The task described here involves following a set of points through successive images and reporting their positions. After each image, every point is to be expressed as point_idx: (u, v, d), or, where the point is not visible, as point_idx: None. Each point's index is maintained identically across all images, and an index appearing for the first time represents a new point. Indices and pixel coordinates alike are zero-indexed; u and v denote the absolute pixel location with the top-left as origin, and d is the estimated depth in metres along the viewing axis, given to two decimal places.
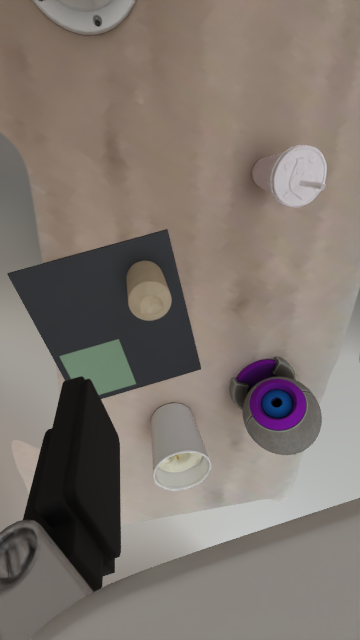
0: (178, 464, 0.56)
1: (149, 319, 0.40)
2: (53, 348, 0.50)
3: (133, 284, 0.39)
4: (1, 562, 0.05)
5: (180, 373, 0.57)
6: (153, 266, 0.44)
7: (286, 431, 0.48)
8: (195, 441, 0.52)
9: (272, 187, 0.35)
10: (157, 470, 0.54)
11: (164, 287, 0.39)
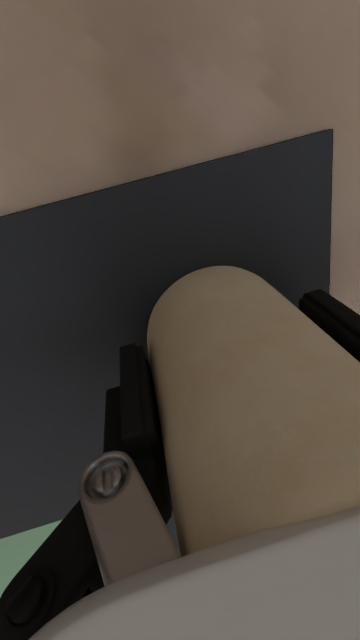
0: None
1: None
2: None
3: (225, 453, 0.05)
4: (98, 482, 0.06)
5: None
6: (275, 293, 0.10)
7: None
8: None
9: None
10: None
11: None
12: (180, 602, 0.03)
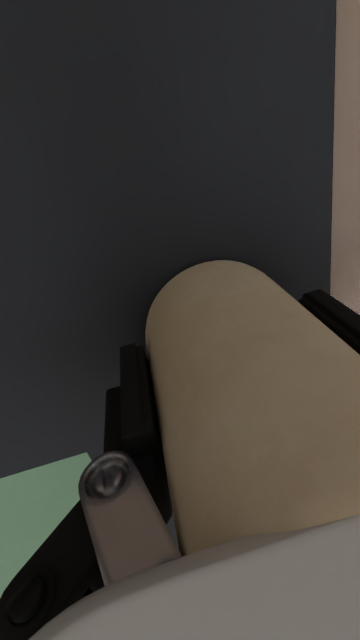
0: None
1: None
2: None
3: (228, 459, 0.05)
4: (98, 481, 0.06)
5: None
6: (277, 288, 0.09)
7: None
8: None
9: None
10: None
11: None
12: (180, 602, 0.03)
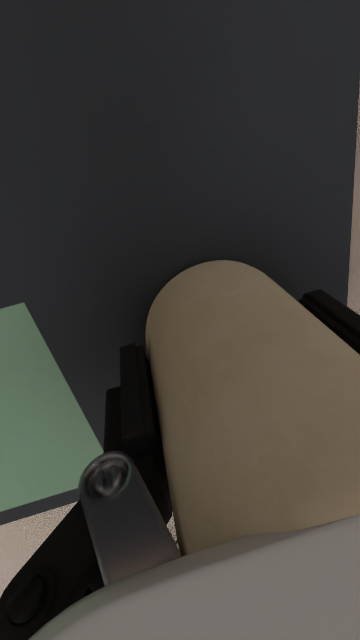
0: None
1: None
2: None
3: (229, 458, 0.05)
4: (98, 481, 0.06)
5: None
6: (278, 288, 0.09)
7: None
8: None
9: None
10: None
11: None
12: (180, 602, 0.03)
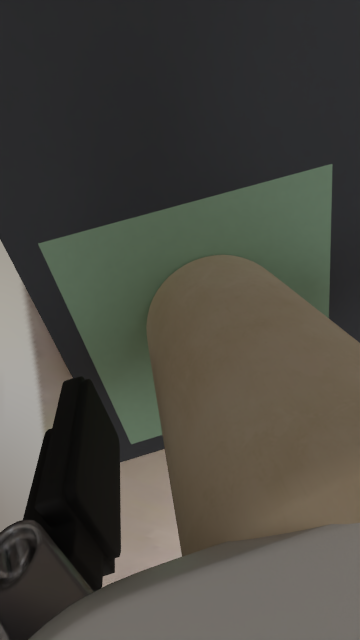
0: None
1: None
2: (3, 190, 0.09)
3: (225, 438, 0.05)
4: (1, 562, 0.05)
5: None
6: (276, 280, 0.09)
7: None
8: None
9: None
10: None
11: None
12: (180, 602, 0.03)
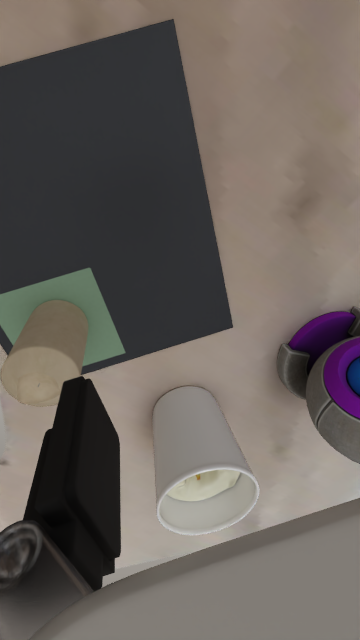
0: (199, 487, 0.33)
1: (44, 406, 0.24)
2: None
3: (11, 350, 0.23)
4: (1, 562, 0.05)
5: (199, 334, 0.34)
6: (62, 311, 0.28)
7: None
8: (230, 448, 0.29)
9: None
10: (164, 499, 0.31)
11: (61, 355, 0.23)
12: (180, 602, 0.03)
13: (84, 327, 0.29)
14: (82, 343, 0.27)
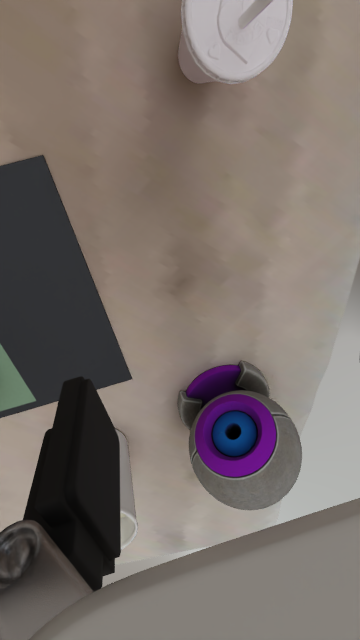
0: None
1: None
2: None
3: None
4: (1, 562, 0.05)
5: (101, 385, 0.39)
6: None
7: (244, 479, 0.31)
8: None
9: (186, 35, 0.18)
10: None
11: None
12: (180, 602, 0.03)
13: None
14: None
